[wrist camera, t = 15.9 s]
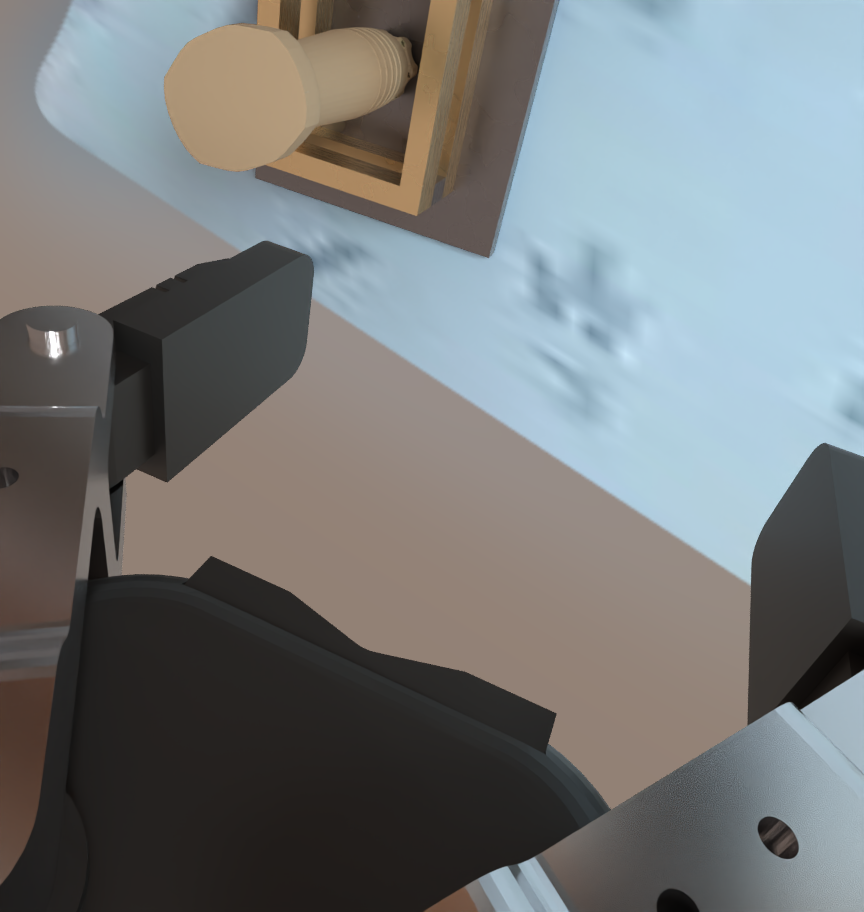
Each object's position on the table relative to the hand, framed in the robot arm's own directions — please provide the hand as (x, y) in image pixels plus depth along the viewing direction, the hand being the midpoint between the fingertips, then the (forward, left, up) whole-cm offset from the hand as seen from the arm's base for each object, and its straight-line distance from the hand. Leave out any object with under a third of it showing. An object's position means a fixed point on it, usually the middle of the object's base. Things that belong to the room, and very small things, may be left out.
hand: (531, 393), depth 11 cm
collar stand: (+2, -16, -32) cm, 36 cm away
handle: (+2, -16, -31) cm, 35 cm away
